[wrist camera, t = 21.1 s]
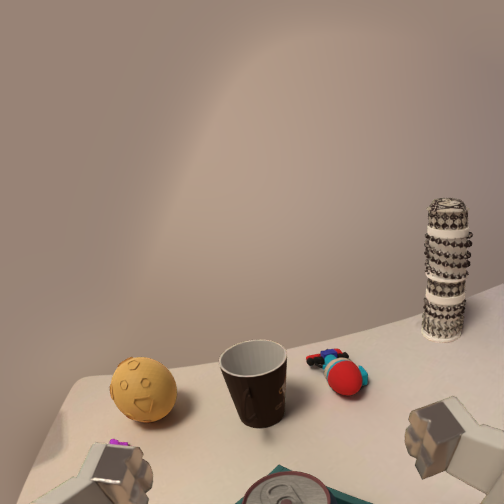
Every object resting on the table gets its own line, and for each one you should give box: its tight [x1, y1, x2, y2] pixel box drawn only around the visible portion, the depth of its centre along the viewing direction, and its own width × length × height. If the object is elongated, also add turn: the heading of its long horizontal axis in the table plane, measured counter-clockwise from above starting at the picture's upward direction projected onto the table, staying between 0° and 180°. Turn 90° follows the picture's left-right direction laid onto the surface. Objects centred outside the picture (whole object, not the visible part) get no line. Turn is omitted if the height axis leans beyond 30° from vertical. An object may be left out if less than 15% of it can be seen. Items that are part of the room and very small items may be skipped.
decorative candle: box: [421, 198, 473, 343], centre depth 49 cm, size 9×9×25 cm
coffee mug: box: [219, 340, 287, 428], centre depth 39 cm, size 12×9×10 cm
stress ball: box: [110, 357, 177, 423], centre depth 41 cm, size 10×10×10 cm
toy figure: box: [306, 349, 368, 395], centre depth 46 cm, size 8×5×15 cm
